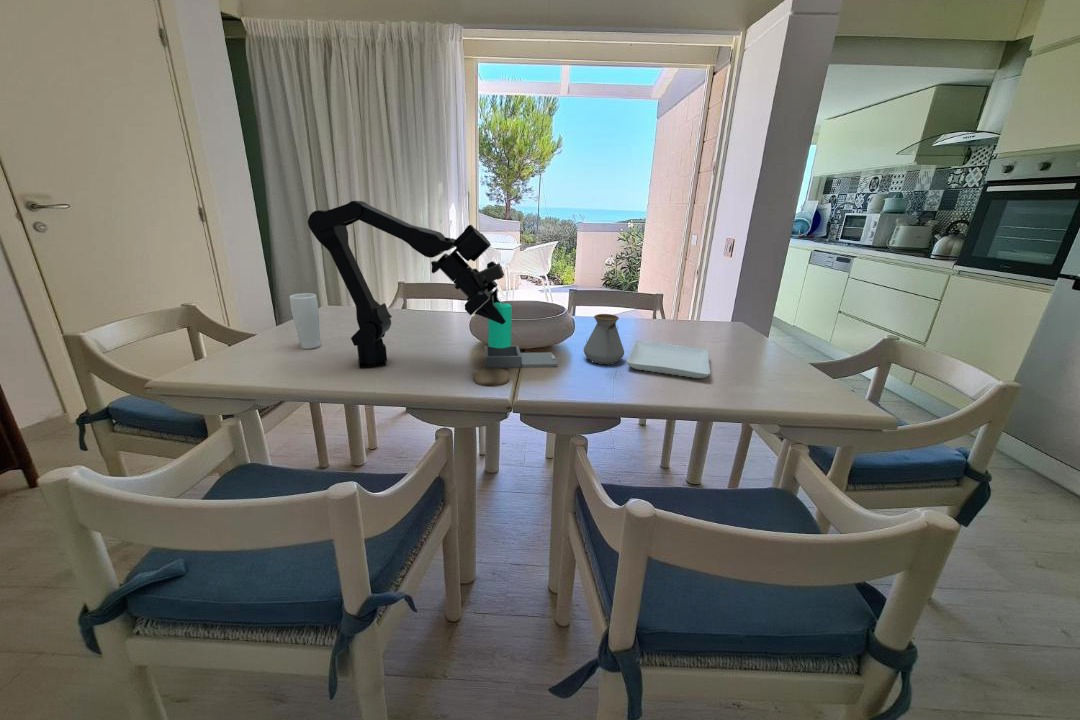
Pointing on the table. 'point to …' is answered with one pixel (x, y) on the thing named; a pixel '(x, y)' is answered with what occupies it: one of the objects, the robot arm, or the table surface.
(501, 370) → the coaster
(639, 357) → the salad plate
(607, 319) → the coffee pot
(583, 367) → the table surface
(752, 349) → the table surface
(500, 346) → the candle
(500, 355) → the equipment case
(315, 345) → the drinking glass
